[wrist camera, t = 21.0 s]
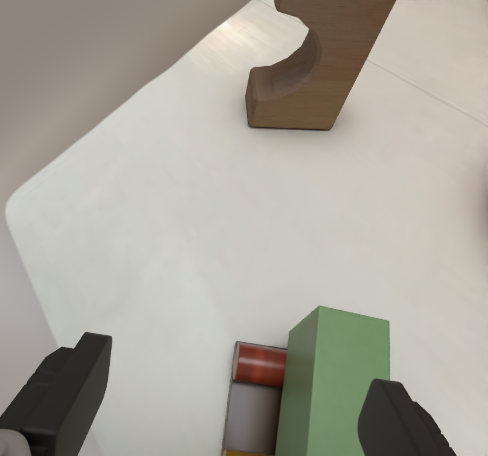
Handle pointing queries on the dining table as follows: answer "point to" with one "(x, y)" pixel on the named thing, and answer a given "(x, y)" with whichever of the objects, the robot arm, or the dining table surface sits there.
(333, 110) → the decorative block
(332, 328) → the bar
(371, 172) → the dining table surface
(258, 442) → the rod rack
